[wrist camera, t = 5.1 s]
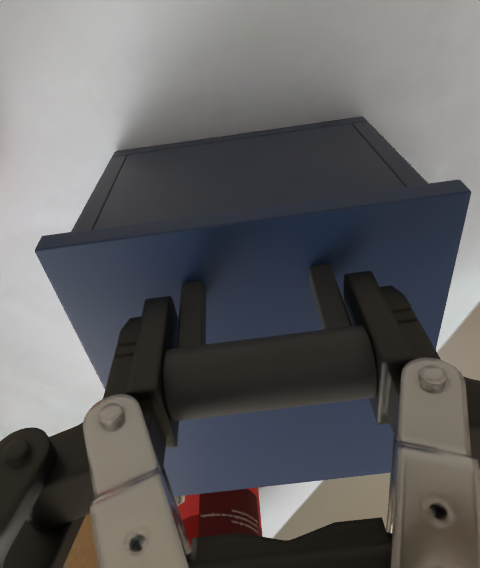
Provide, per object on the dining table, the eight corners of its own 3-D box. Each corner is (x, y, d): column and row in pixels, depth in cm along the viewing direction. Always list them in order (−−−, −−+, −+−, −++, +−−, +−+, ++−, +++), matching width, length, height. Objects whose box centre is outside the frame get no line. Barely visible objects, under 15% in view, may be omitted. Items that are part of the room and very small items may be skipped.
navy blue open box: (114, 151, 23) (63, 244, 15) (363, 116, 22) (439, 193, 15) (174, 357, 31) (161, 483, 24) (356, 334, 31) (402, 455, 23)
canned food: (183, 510, 43) (175, 655, 34) (161, 462, 38) (144, 614, 29) (263, 500, 42) (276, 643, 33) (250, 449, 38) (261, 600, 29)
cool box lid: (41, 235, 14) (-33, 375, 9) (459, 178, 13) (575, 299, 9) (161, 483, 24) (150, 605, 19) (403, 456, 23) (445, 575, 19)
